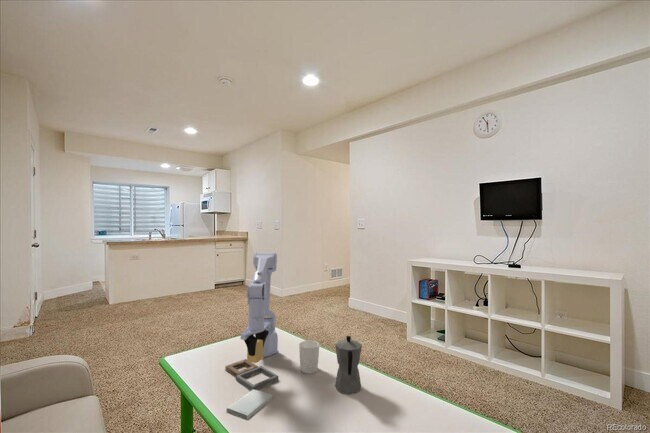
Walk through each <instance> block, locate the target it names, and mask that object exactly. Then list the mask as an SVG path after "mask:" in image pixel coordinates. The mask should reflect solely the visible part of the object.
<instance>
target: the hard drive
mask: <svg viewBox="0 0 650 433" xmlns="http://www.w3.org/2000/svg"><path fill="white" fill-rule="evenodd" d="M272 399H273V395H272V394H270V393H266V392H264V391H261V390H259V389H257V390H254V389H253V390H252V391H251V390H250V391H249V392H248V393H246V394H244V395H243V396H242V397H240V398H239V399H238V400H236V401H235V402H233V403H232V404H231V405H230V406H228V407H227V408H226V412H228V413H230V414H232V415H235V416H237V417H240V418H244V419H246V420H248V419H249V418H251V416H253V415H254V414H255V413H257V412H258V411H259V410H260V409H261V408H263V407H264V406H265V405H266V404H267V403H268V402H270V401H271V400H272Z"/></svg>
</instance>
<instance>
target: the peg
mask: <svg viewBox="0 0 650 433" xmlns="http://www.w3.org/2000/svg"><path fill="white" fill-rule="evenodd" d="M246 349H247V348H246ZM246 353H247V354H246V359H247V361H249V362H252V363H253V364H257V363H259V362H260V361H262V360H264V358H263V340H261V339H258V340H257V343H256V348H255V355H254V356H250V355H249V353H248V349H247V350H246Z"/></svg>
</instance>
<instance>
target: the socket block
mask: <svg viewBox="0 0 650 433" xmlns="http://www.w3.org/2000/svg"><path fill="white" fill-rule="evenodd" d="M242 367H246V368H243V369H241V370H238V368H242ZM257 367H259V365H258V364H256V363H253V362H249V361H247V358H244V359H242V360H239V361H236V362H233V363H231V364H228V365H225V368H224V369H225V371H226V372H227V373H230V375H232V376H234V377H235V378H236V375H239V374H242V373H244V372H247V371H249V370H252V369H254V368H257Z"/></svg>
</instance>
